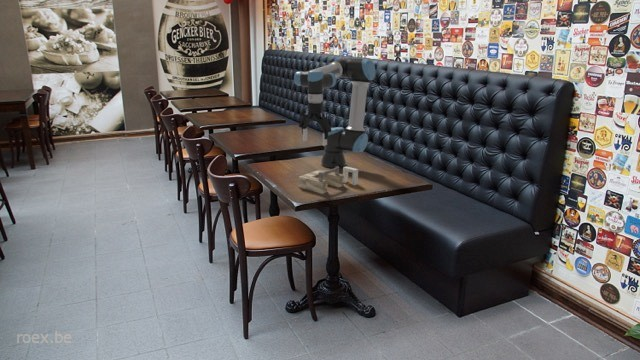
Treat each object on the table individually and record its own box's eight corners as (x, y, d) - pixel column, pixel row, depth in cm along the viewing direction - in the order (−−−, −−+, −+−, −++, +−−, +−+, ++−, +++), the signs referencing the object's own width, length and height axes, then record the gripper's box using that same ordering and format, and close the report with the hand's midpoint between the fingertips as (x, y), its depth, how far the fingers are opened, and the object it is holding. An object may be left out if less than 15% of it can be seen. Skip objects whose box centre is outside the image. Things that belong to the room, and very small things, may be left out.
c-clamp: (320, 179, 265) (320, 161, 262) (343, 185, 256) (344, 167, 253) (298, 187, 252) (298, 168, 249) (322, 193, 242) (322, 174, 239)
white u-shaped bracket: (345, 181, 264) (346, 166, 261) (357, 184, 259) (358, 169, 256) (342, 182, 261) (342, 167, 259) (354, 185, 257) (355, 170, 254)
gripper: (292, 100, 246) (292, 140, 252) (329, 105, 230) (328, 148, 237) (302, 98, 251) (302, 138, 258) (339, 104, 236) (338, 145, 242)
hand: (314, 143), depth 247 cm, fingers open, 13 cm apart
